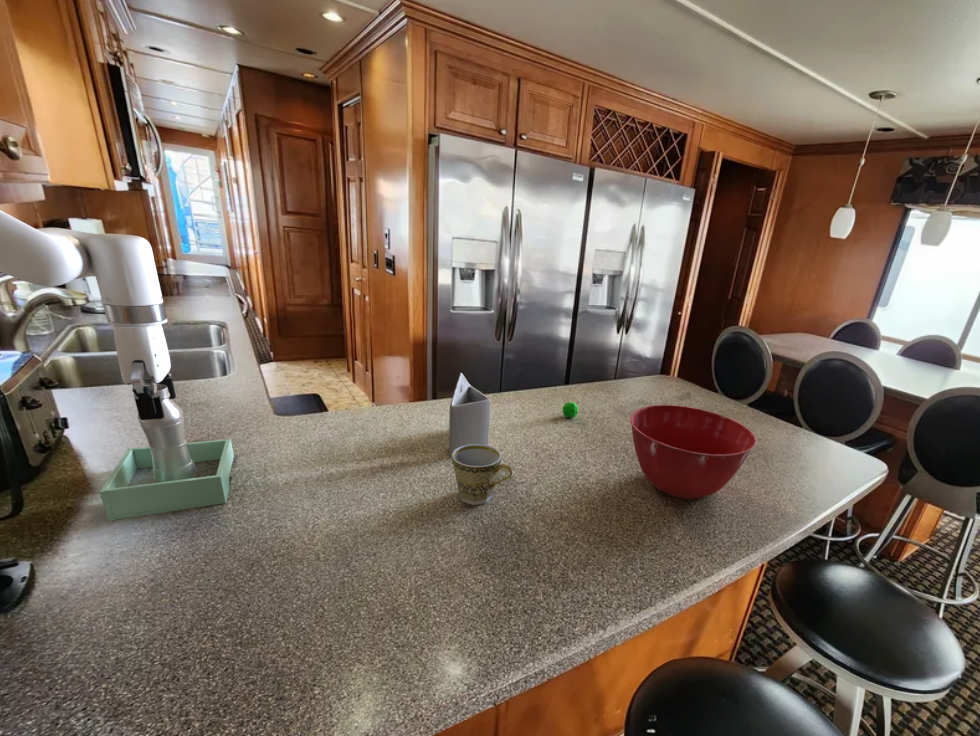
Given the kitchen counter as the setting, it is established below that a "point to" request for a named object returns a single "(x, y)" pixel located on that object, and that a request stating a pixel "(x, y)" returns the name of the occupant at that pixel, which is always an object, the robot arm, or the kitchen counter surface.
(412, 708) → the kitchen counter surface
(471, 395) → the planter
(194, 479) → the mint green tray frame
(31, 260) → the robot arm
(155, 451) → the plastic bottle
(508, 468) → the ceramic cup
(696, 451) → the mixing bowl
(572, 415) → the polyhedron
